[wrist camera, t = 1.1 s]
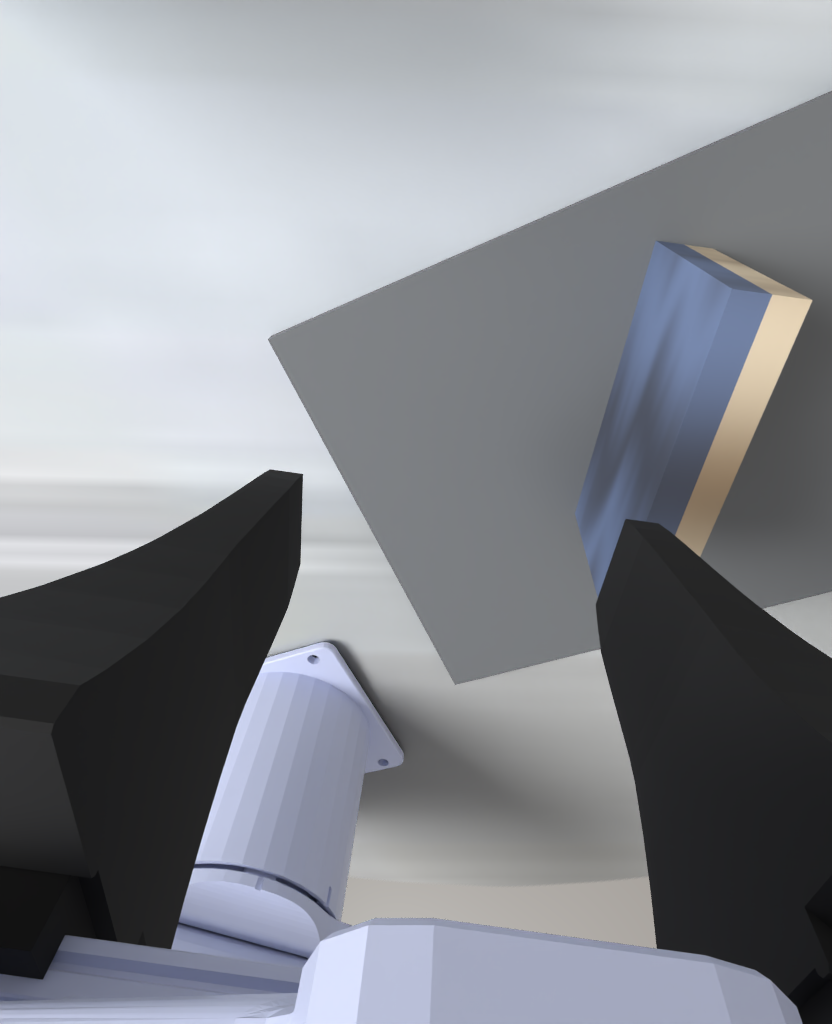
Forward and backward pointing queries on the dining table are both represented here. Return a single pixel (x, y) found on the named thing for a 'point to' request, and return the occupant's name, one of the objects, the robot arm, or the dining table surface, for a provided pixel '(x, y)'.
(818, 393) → the mat
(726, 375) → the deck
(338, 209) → the dining table surface
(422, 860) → the dining table surface
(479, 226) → the dining table surface
